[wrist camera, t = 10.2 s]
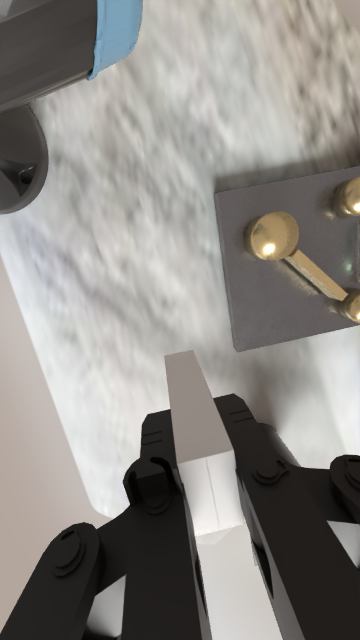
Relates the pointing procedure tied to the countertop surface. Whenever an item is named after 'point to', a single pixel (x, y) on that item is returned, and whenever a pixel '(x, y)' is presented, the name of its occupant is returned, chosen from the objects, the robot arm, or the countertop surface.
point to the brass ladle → (286, 249)
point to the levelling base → (279, 275)
